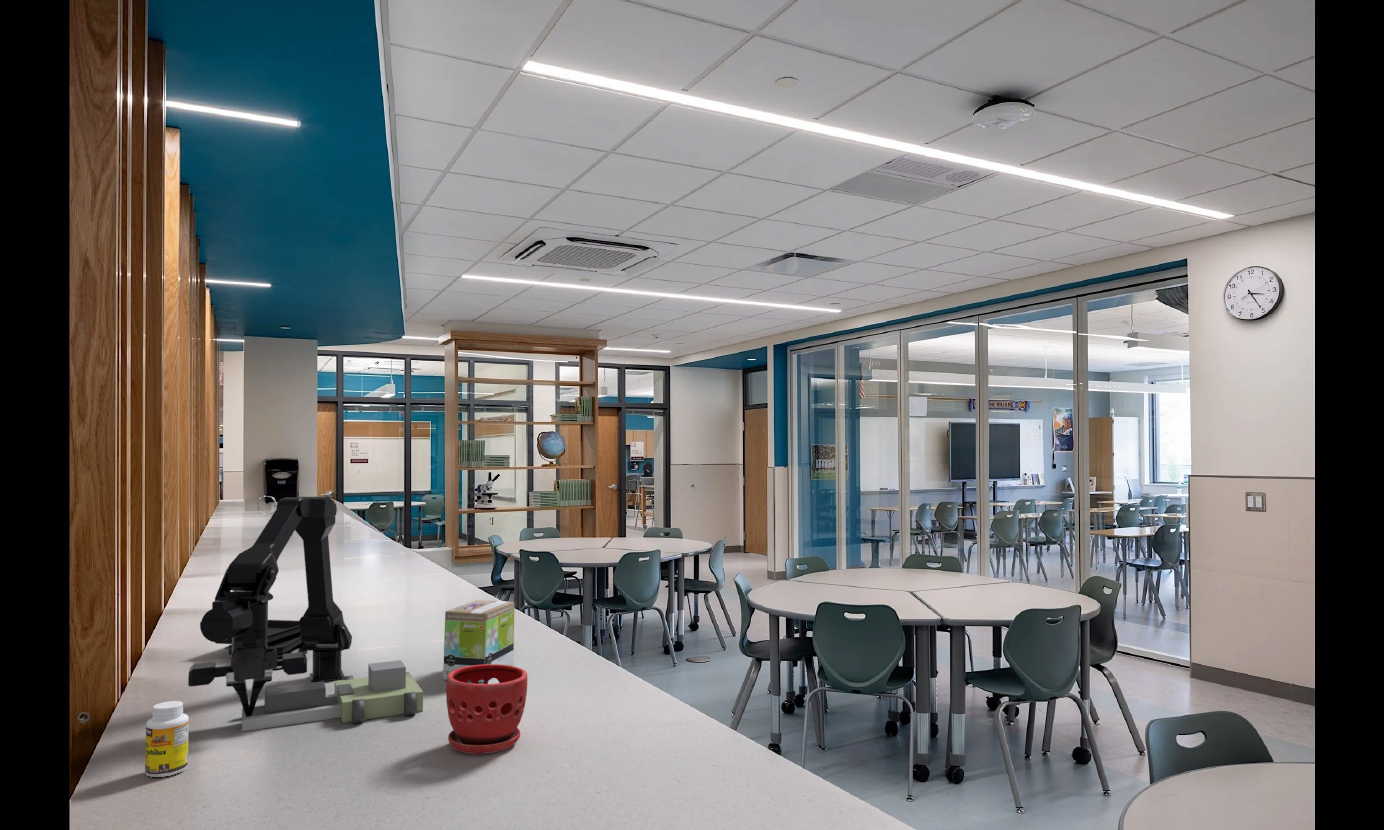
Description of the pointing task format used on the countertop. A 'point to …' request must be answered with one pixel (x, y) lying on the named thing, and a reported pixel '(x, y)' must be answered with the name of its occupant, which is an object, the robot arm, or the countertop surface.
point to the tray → (278, 636)
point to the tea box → (479, 635)
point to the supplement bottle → (166, 740)
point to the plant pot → (485, 707)
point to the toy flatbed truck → (353, 699)
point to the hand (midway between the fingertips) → (248, 716)
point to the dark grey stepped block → (294, 697)
